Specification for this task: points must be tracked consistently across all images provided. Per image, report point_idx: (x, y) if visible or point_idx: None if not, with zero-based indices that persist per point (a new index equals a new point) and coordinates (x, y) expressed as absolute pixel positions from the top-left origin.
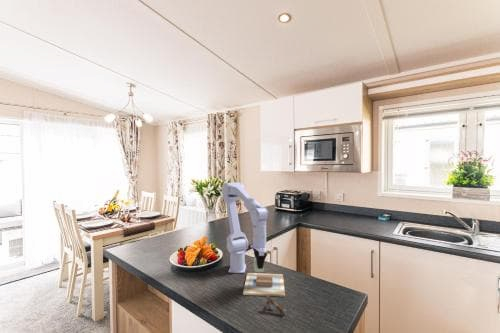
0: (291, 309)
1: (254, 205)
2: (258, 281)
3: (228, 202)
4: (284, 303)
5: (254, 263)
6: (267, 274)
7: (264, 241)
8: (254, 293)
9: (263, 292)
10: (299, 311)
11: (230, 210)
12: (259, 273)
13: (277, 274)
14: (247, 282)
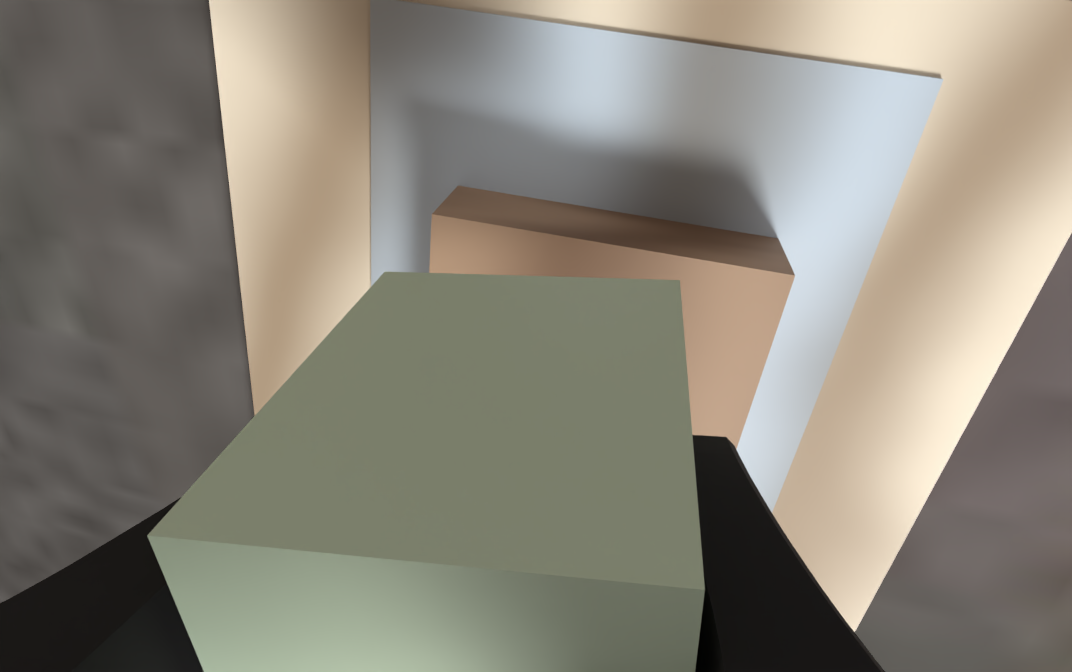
0: (59, 499)
1: None
2: (439, 263)
3: None
4: (144, 468)
5: (461, 389)
6: (914, 450)
7: None
8: (227, 130)
9: (275, 283)
10: (53, 550)
11: None
12: (1021, 316)
13: (861, 586)
14: (634, 3)
